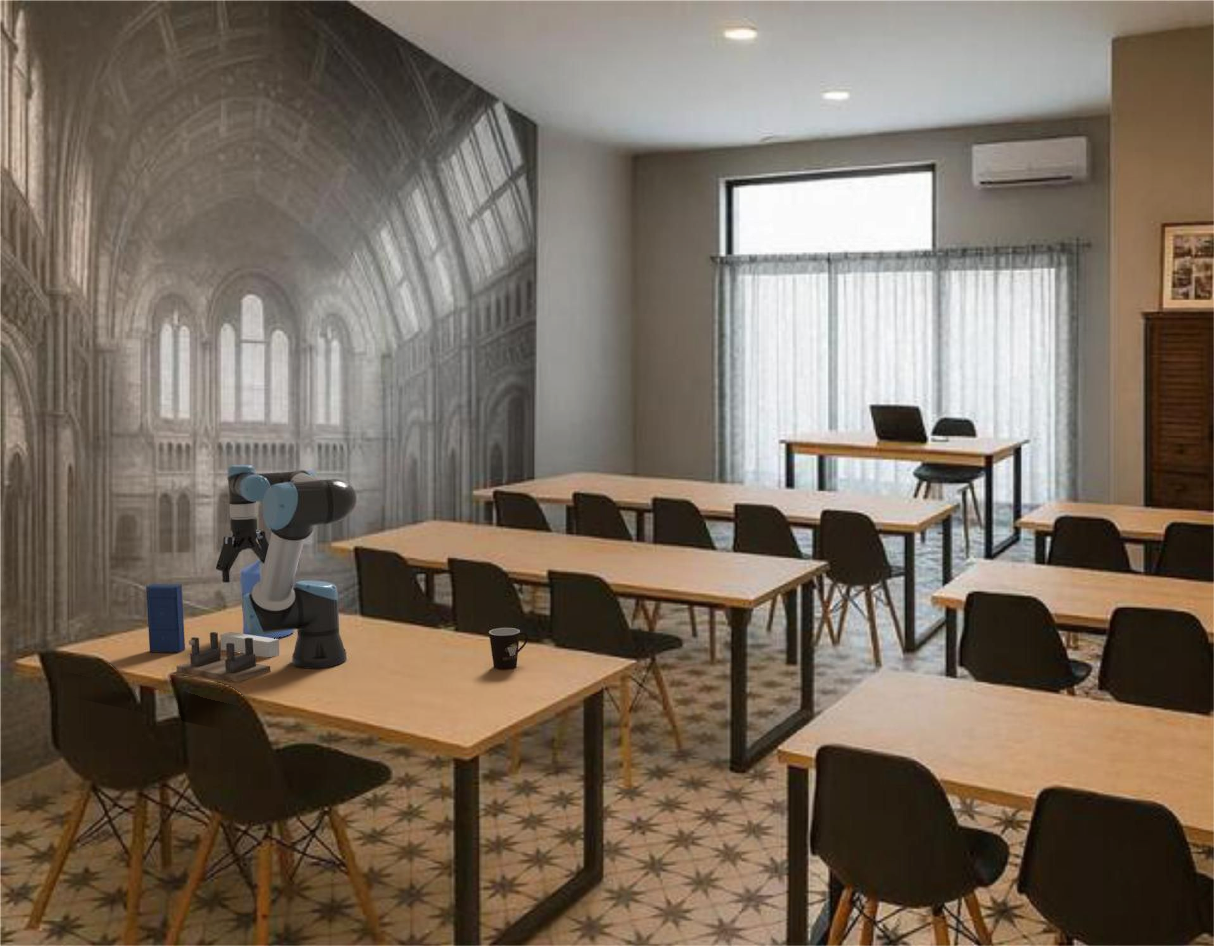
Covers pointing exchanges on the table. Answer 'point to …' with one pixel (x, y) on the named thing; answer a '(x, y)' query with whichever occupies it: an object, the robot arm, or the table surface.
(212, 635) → the cable cradle
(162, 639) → the electronic device
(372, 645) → the table surface
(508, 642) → the coffee mug
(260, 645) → the white slab
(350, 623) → the table surface
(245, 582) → the water jug
